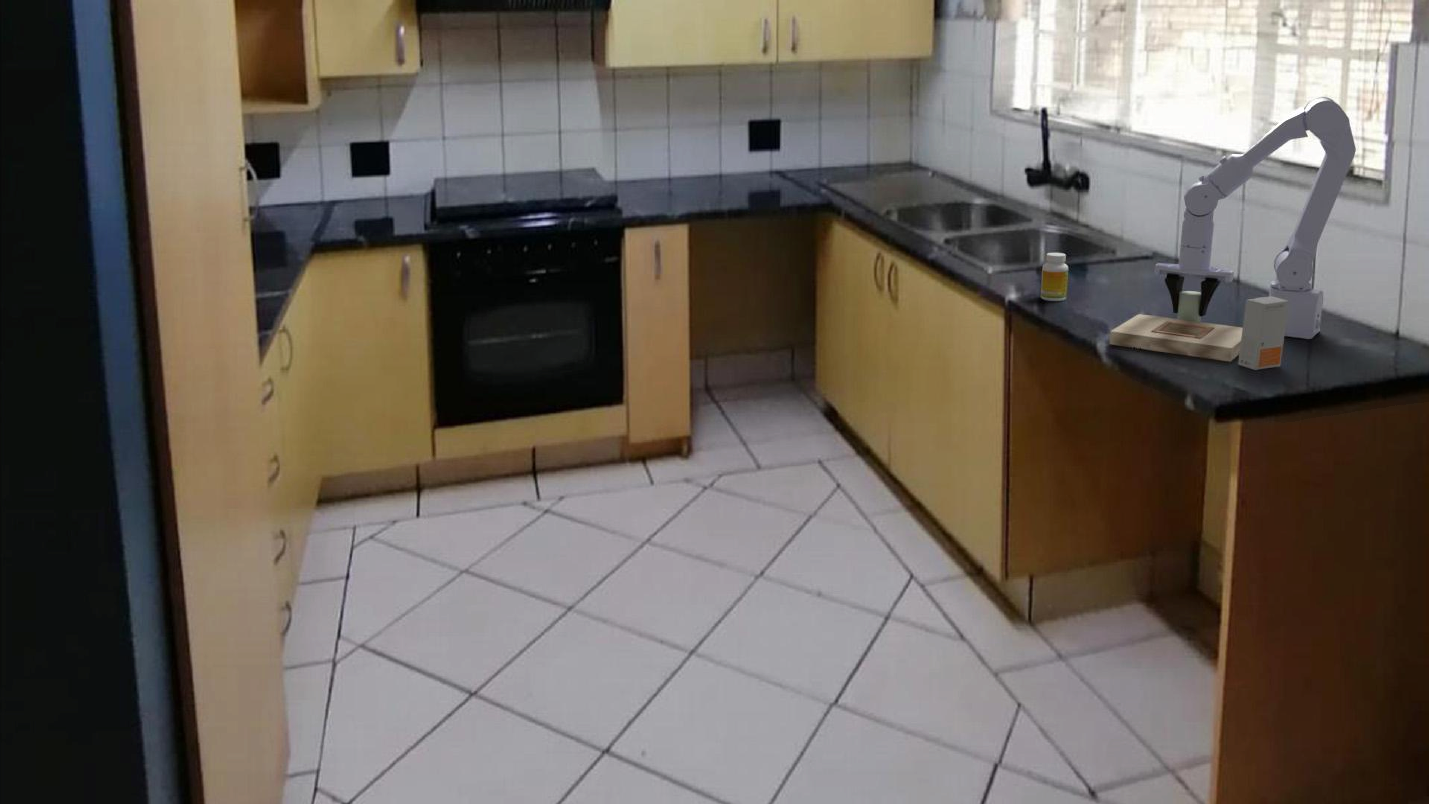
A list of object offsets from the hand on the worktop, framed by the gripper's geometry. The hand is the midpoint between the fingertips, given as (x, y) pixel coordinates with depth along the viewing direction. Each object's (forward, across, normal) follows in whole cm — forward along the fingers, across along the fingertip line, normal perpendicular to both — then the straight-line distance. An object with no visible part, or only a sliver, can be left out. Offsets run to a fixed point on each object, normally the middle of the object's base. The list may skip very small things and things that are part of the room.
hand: (1189, 313), depth 256 cm
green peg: (+2, 0, 0) cm, 2 cm away
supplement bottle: (+3, +31, -8) cm, 32 cm away
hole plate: (+2, -3, +14) cm, 14 cm away
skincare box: (+3, -19, +22) cm, 29 cm away
